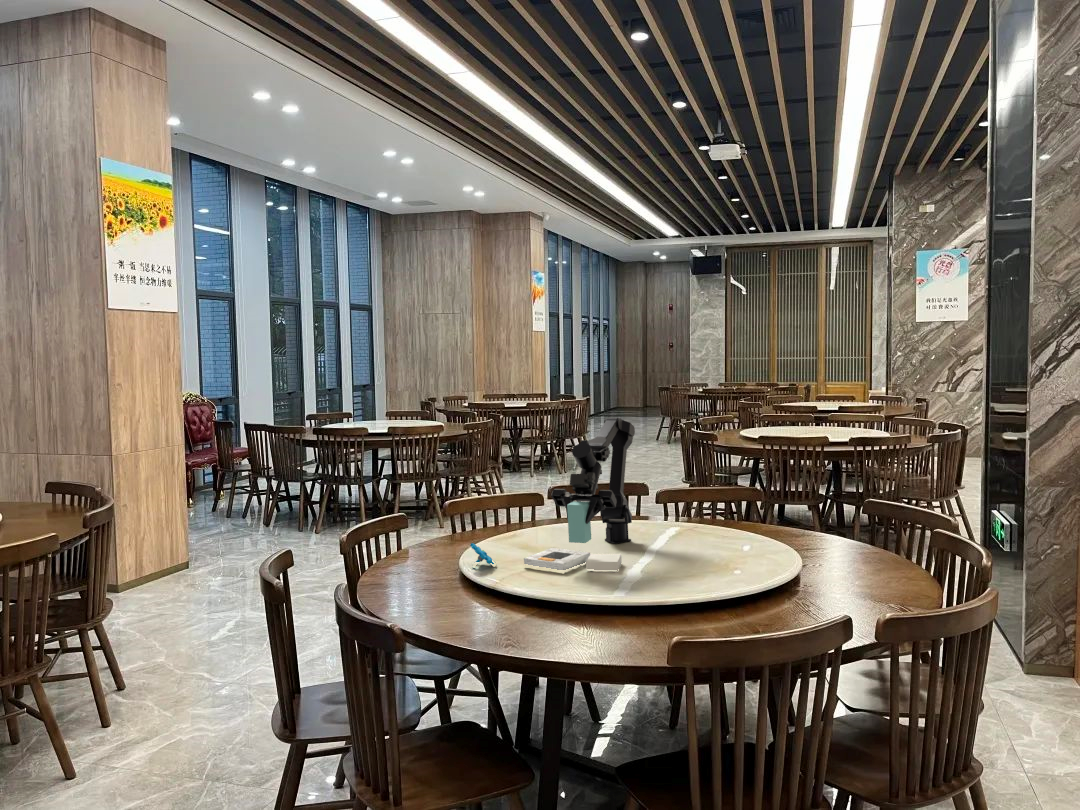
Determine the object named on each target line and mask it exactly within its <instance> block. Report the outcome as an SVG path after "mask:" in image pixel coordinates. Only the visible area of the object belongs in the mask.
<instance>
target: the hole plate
mask: <svg viewBox="0 0 1080 810" xmlns="http://www.w3.org/2000/svg"><path fill="white" fill-rule="evenodd" d="M590 554H591V552H588V551H580V550H574V549H564V548H559V547H558V548H557V547H550V548H547V549H545V550H542V551H539V552H538V553H535V554H532V555H529V556H527V557H524V558H523V565H524V564H528V565H533V566H539V567H546V568H551V569H557V570H566V569H569V568H572V567H574V566H577V565H580V564H583V563H585V562H586V561H587V559H588V558H589V556H590Z"/></svg>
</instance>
